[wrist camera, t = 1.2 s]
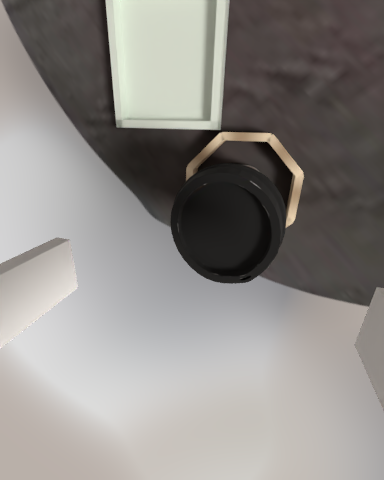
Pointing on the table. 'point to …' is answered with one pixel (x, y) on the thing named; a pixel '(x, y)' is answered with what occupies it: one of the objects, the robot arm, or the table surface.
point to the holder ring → (261, 137)
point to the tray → (168, 62)
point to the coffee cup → (228, 222)
